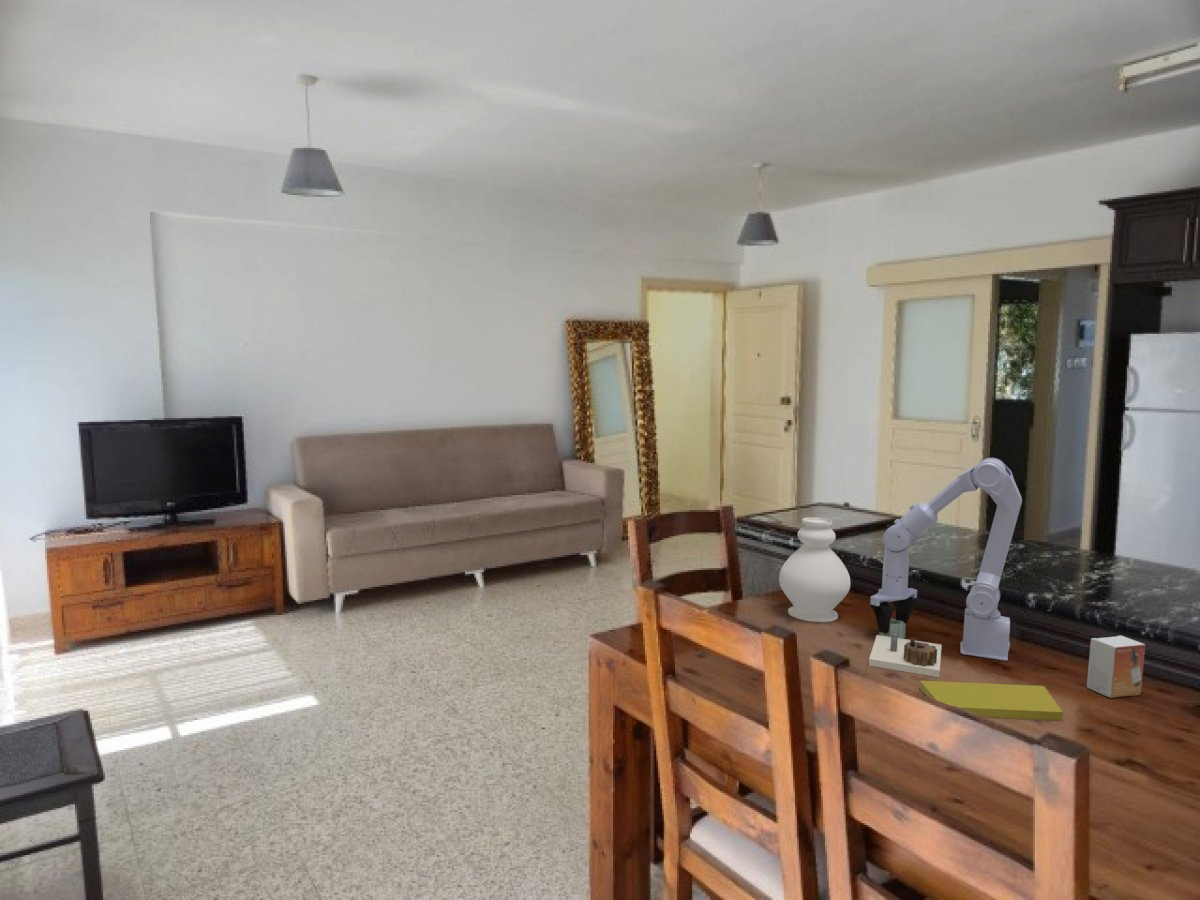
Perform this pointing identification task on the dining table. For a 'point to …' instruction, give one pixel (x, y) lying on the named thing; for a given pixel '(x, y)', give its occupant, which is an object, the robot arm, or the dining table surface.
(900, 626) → the sage gear
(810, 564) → the decorative vase
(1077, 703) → the dining table surface
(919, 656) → the drive gear
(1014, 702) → the flat olive board
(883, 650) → the gear board
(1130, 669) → the small box
